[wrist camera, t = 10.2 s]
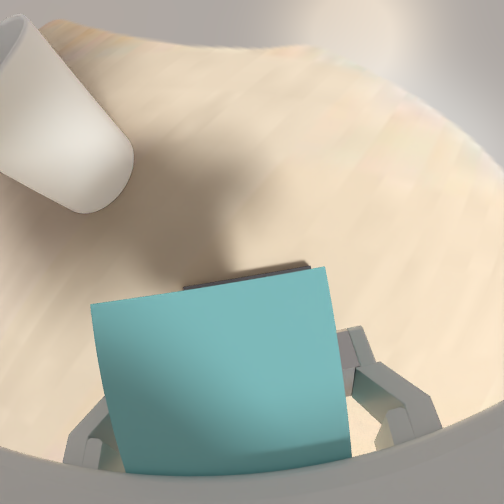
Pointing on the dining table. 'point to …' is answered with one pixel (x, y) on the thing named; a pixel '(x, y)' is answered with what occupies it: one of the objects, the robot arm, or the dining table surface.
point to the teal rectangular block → (225, 377)
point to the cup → (55, 126)
